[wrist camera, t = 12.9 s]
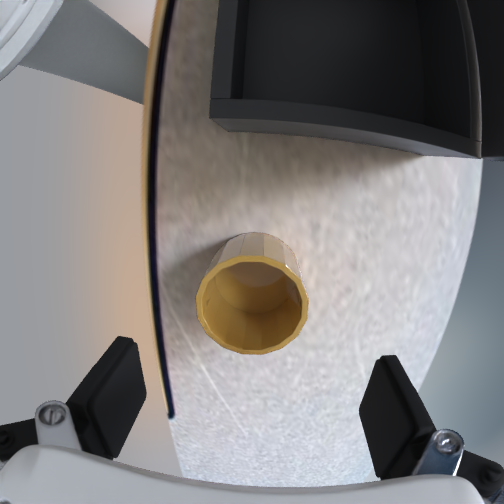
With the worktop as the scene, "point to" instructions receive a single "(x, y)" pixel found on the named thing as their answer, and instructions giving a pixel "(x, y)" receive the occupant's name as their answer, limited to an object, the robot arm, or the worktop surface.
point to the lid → (490, 72)
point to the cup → (253, 295)
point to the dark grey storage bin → (350, 72)
